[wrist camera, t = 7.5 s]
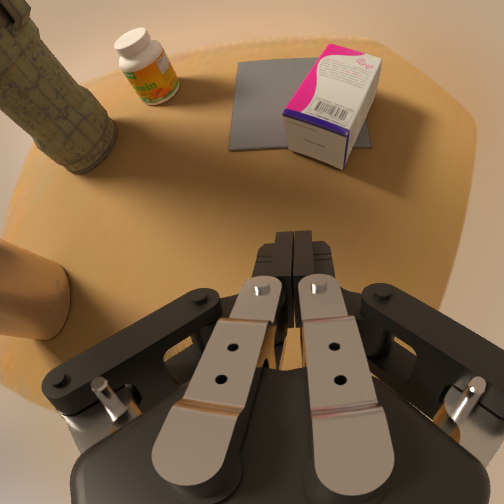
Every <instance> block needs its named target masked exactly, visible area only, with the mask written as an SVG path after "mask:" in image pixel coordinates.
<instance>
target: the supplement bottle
mask: <svg viewBox="0 0 504 504" xmlns="http://www.w3.org/2000/svg"><path fill="white" fill-rule="evenodd" d="M114 48H115V50H116V51H117V53H118V54H119V56H121V57H120V60H119V66H120V68H121V70H122V71H123V73H124V74H125V76H126V77H127V79H128V80H129V82H130V83H131V85H132V86H133V88H134V89H135V91H136V92H137V94H138V95H139V97H140V98H141V100H142V101H143V102H144V103H145V104H147V105H157V104H161V103H163V102H165V101H167V100H169V99H170V98H171V97H172V96H174V95H175V93H176V92H177V90H178V88H179V84H180V83H179V79H178V77H177V75H176V73H175V71H174V69H173V67H172V65H171V63H170V61H169V59H168V57H167V55H166V53H165V51H164V49H163V48H162V46H161V44H160V43H159V42H158V41H157V40H153V39H150V35H149V34H148V32H147V30H146V29H145V28H136V29H133V30H131V31H129V32H127V33H125V34H124V35H122V36H121V37H120V38H119V39H118V40H117V41H116V43H115V45H114Z"/></svg>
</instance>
